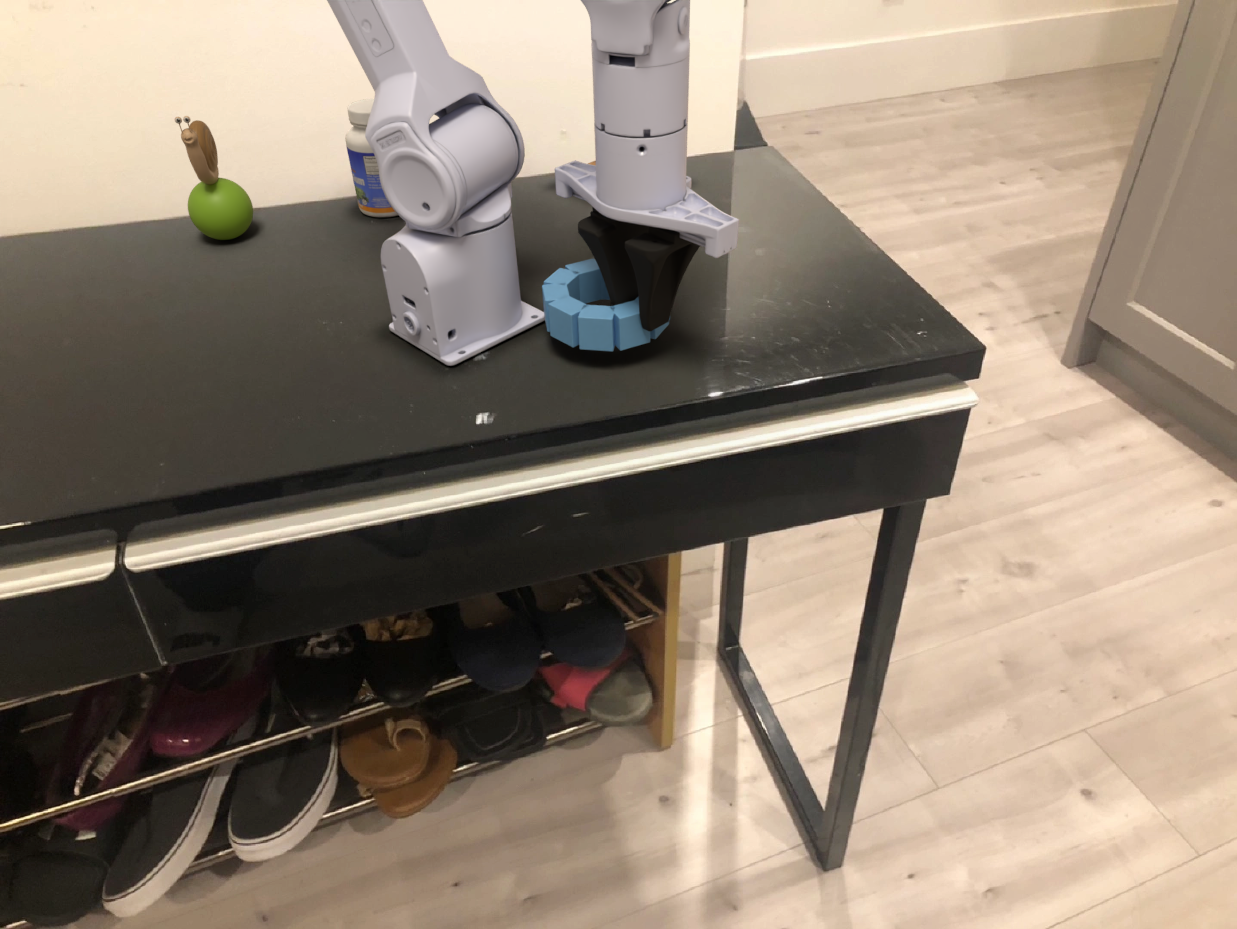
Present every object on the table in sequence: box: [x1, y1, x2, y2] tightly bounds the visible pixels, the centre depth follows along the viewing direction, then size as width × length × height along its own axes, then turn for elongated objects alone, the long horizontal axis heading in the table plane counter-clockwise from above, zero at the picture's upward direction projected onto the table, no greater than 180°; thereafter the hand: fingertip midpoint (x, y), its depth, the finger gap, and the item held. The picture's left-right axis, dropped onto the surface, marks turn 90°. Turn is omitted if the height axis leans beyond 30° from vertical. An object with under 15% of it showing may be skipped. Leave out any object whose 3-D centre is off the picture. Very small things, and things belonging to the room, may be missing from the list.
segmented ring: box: [541, 258, 671, 352], centre depth 66 cm, size 9×9×3 cm
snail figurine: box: [174, 115, 254, 241], centre depth 80 cm, size 5×6×12 cm
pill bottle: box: [344, 98, 399, 218], centre depth 86 cm, size 5×5×10 cm
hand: (641, 318), depth 64 cm, fingers closed on segmented ring, 2 cm apart
